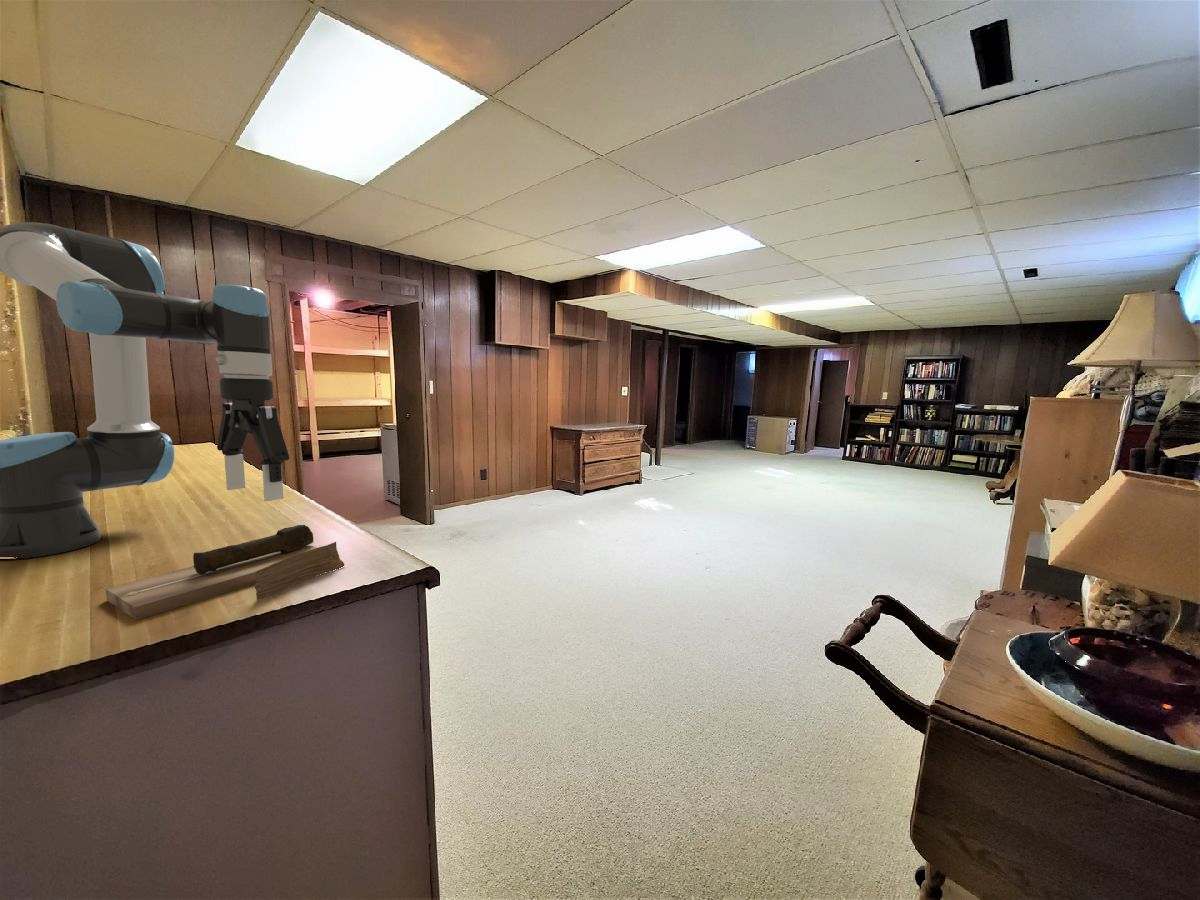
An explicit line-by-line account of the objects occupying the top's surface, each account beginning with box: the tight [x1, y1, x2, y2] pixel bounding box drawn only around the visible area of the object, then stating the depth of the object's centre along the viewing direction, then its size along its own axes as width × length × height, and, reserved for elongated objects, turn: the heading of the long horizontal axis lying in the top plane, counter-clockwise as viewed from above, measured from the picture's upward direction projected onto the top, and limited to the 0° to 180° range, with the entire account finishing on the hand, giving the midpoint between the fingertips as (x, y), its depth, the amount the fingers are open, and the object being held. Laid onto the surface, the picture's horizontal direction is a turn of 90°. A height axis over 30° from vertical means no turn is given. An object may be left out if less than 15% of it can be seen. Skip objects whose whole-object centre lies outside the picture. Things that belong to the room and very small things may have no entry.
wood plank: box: [254, 541, 345, 600], centre depth 81 cm, size 15×2×5 cm, turn 160°
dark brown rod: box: [192, 524, 314, 575], centre depth 86 cm, size 19×4×5 cm, turn 147°
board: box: [105, 544, 318, 621], centre depth 82 cm, size 12×28×2 cm, turn 151°
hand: (254, 494), depth 85 cm, fingers open, 13 cm apart
